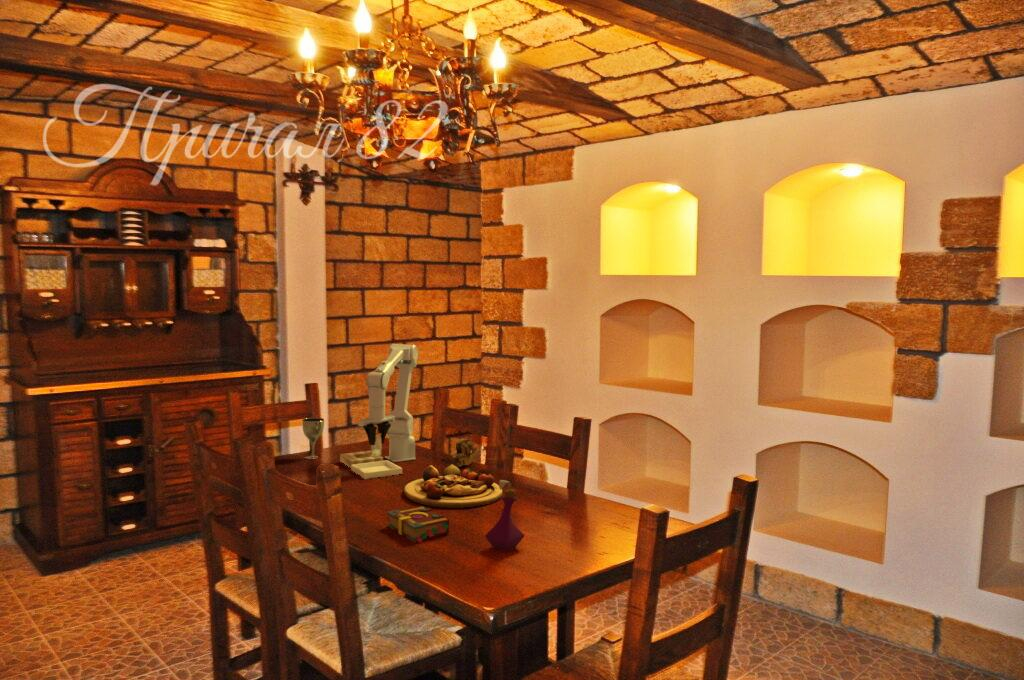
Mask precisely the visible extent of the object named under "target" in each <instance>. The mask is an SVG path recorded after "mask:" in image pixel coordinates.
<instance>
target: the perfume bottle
mask: <svg viewBox="0 0 1024 680" xmlns="http://www.w3.org/2000/svg"><path fill="white" fill-rule="evenodd" d="M498 485H499V488H500V490H501V489H502V490H503V488H504V487H505V485H507V486H508V489H506V490H504V493H503V495H502V497H501V500H502V501H503V503H504V504H503V505H504V506H503V509H502V513H501V516H500V517H499V520H498V521H497V522H496V523H495V524H494V525H493V527H491V529H490V530H489V531H488V532H487V533H486V534H485V535H484V537H485V539H486V540H487V541H488V543H489V544H490V545H491V546H492V548H493V547H494V548H493V549H495V548H497V549H496V550H498V549H500V550H499V551H501V550H503V551H502V552H504V551H507V550H509V551H511V550H513V549H512V548H514V547H516V548H517V546H518V545H519V544H520V543H521V541H522V540H523V538H524V537H525V534H524V533H523V532H522V531H521V530H520V529H519V527H518V526H517V525H516V523H514V522H513V520H512V516H511V513H512V512H511V511H512V506H513V505H514V503H515V501H517V500H518V497H517V496H515V495H516V489H513V488H511V486H512V482H511V481H508V480H504V479H499V483H498ZM510 549H511V550H510ZM514 549H515V548H514ZM507 552H508V551H507Z"/></svg>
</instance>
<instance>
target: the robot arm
mask: <svg viewBox="0 0 1024 680" xmlns="http://www.w3.org/2000/svg"><path fill="white" fill-rule="evenodd" d="M418 358H419V351H418V347H417V346H416V344H401V343H399V344H397V343H392V344H391V345H390V346H389V349H388V356H387V359H386V360H382V361H381V362H380V363H379V364H378V366H377V367H376V368H375V369H374V371H371V372H370V373H368V374H367V376H366V378H365V379H366V380H365V384H366V385H365V386H366V388H367V393H368V417H367V418H363V419H358V422H357V426H358V427H362V428H363V430H364V432H365V434H366V436H367V439H368V444H369V445H370V446H371V445H374V444H375V433H376V432H382V444H384V443H385V441H386V438H387V437H389V441H388V442H389V443H388V451H389V453H388V456H387V455H386V456H384V458H385V459H387V460H388V461H390V462H392V463H397V462H403V461H405V462H406V461H412V460H416V440H415V437H414V435H412V434H413V432H414V417H413V415H412V414H411V413H409V411H408V407H409V406H408V405H409V399H410V398H409V397H410V390H411V384H412V383H411V381H412V374H413V369H415V368H416V367H417V363H418ZM395 367H397V368H398V370H399V371H398V378H397V385H396V386H397V387H396V392H395V393H396V394H395V401H394V408H393V410H392V411H390V412H389V413H387V415H386V389H387V388H388V385H389V382H390V377H392V375H393V374H394V372H395ZM375 425H377V426H375ZM377 430H378V431H377ZM386 436H387V437H386Z"/></svg>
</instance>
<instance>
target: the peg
mask: <svg viewBox="0 0 1024 680" xmlns="http://www.w3.org/2000/svg"><path fill="white" fill-rule="evenodd" d="M370 448H371V449H370V451H371V455H372V456H382V450H383V449H382V432H378V431H376V433H375V444H374V445H370Z"/></svg>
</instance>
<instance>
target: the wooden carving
mask: <svg viewBox="0 0 1024 680" xmlns="http://www.w3.org/2000/svg"><path fill="white" fill-rule="evenodd" d="M477 449H478V447H475V446H474V440H473V439H472V438H460V439H459V440H458V442H456V443H455V450H456V452H455V453H454V454H453V456H452V462H453V465H454V466H456V467H457V468H460V467H461V468H462V467H463V466H470V465H471V464H472V463H474V460H475V459H476V457H477V455H476V451H477Z"/></svg>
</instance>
